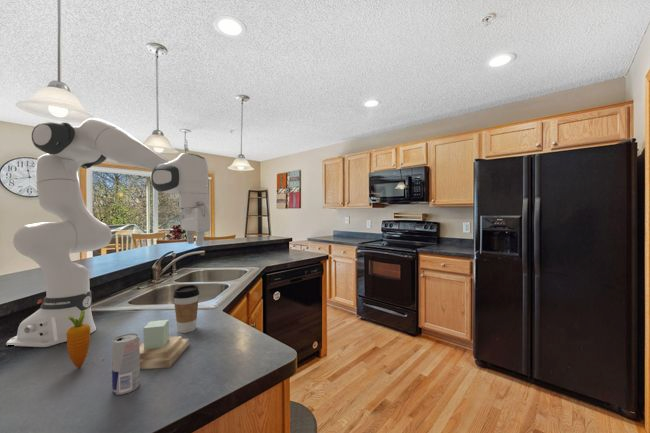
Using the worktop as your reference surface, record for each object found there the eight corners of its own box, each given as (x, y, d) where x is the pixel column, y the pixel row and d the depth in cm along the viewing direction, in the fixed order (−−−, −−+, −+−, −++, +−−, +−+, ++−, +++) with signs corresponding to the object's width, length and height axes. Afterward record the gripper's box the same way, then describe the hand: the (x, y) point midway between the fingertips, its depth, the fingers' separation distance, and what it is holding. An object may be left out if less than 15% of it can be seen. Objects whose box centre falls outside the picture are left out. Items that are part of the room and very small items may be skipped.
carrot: (70, 375, 72) (69, 317, 72) (63, 369, 74) (62, 313, 74) (94, 366, 76) (93, 311, 76) (87, 361, 79) (86, 308, 79)
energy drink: (121, 382, 68) (121, 333, 68) (144, 381, 69) (144, 332, 69) (106, 396, 63) (105, 343, 63) (131, 394, 64) (130, 342, 64)
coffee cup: (204, 325, 104) (203, 284, 104) (191, 335, 95) (190, 291, 95) (183, 324, 104) (182, 284, 104) (168, 334, 96) (167, 290, 96)
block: (143, 349, 78) (143, 328, 78) (150, 341, 83) (149, 321, 83) (163, 347, 79) (163, 326, 79) (168, 339, 84) (168, 319, 84)
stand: (118, 370, 74) (118, 357, 74) (145, 347, 87) (145, 335, 87) (169, 367, 75) (169, 354, 75) (189, 344, 88) (188, 333, 88)
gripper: (215, 201, 86) (215, 246, 86) (195, 204, 102) (195, 242, 102) (193, 201, 82) (194, 248, 82) (176, 203, 98) (176, 243, 98)
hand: (194, 244), depth 92 cm, fingers open, 8 cm apart
